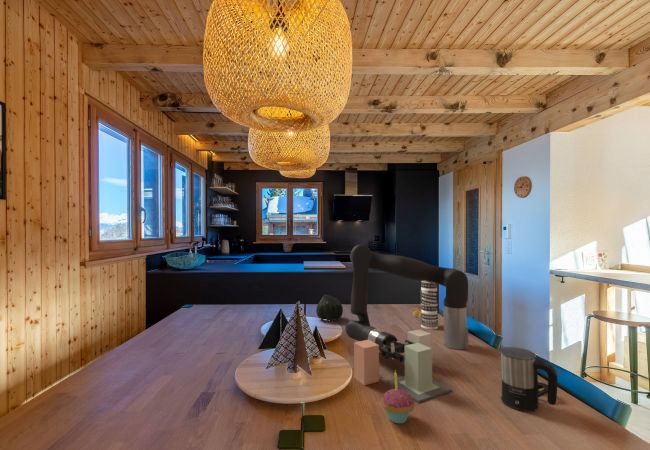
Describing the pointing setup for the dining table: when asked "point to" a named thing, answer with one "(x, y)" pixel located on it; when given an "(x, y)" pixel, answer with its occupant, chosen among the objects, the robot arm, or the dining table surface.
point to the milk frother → (525, 379)
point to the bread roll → (417, 313)
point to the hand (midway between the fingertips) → (413, 356)
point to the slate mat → (422, 394)
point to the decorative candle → (429, 305)
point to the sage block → (418, 366)
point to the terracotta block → (366, 362)
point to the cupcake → (397, 403)
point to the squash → (329, 308)
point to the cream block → (420, 337)
